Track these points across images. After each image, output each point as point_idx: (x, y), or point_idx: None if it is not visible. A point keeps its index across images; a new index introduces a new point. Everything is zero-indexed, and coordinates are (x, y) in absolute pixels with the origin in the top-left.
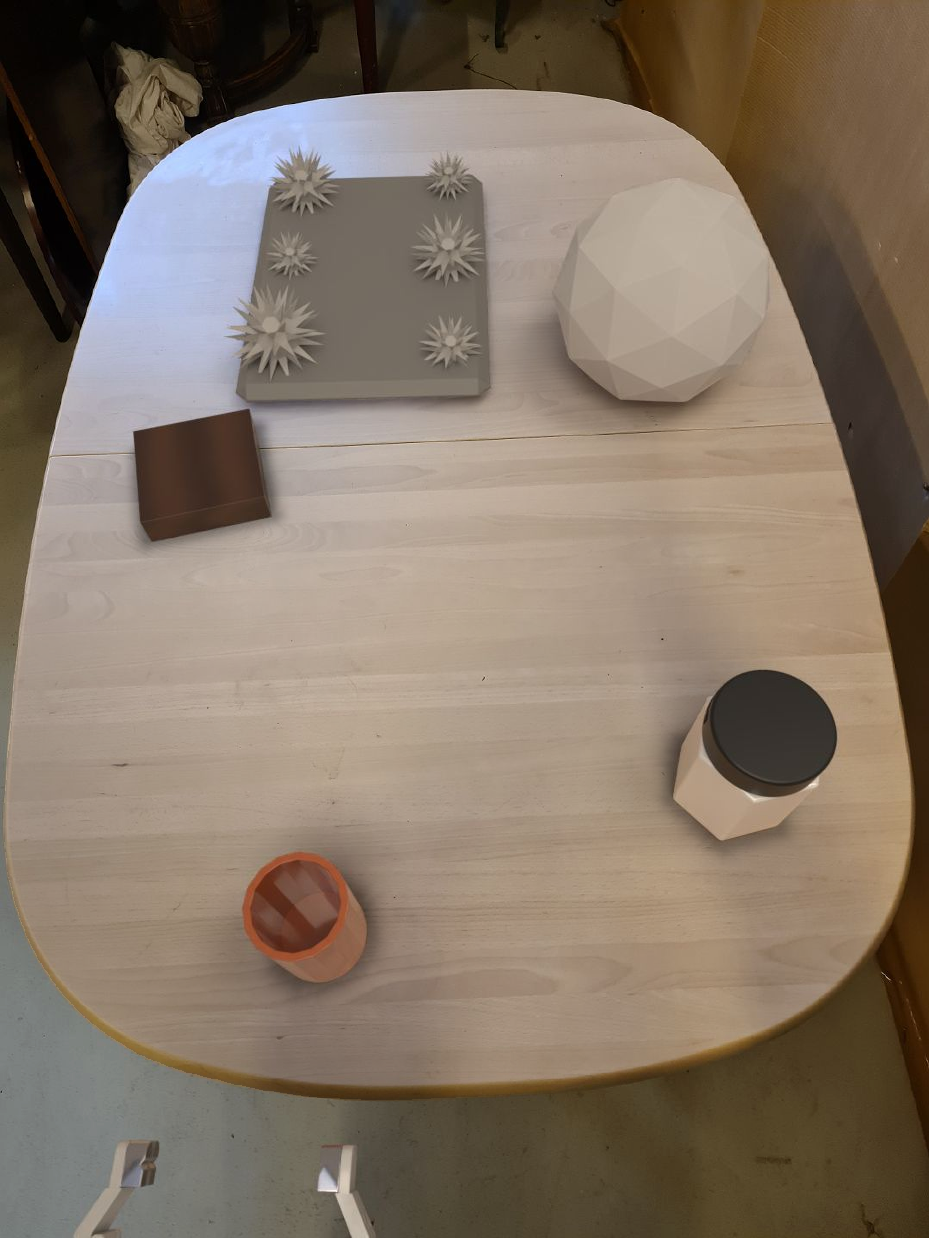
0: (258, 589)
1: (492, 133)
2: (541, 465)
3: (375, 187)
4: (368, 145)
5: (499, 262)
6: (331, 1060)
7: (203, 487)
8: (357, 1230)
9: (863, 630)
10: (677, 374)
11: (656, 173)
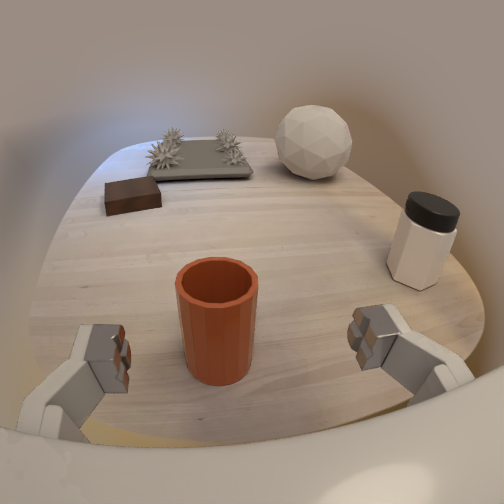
0: (156, 226)
1: None
2: (281, 192)
3: (197, 141)
4: None
5: (244, 157)
6: (244, 429)
7: (133, 192)
8: (443, 353)
9: None
10: (329, 153)
11: None
